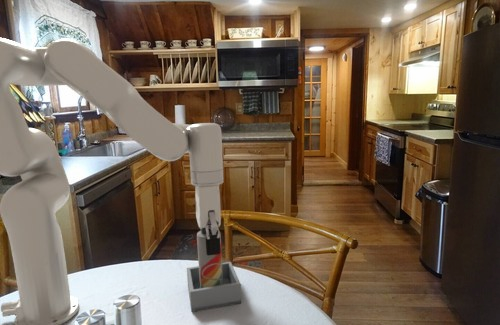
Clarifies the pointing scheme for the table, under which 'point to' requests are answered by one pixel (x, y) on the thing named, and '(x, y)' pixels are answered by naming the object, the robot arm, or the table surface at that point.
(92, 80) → the robot arm
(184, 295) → the table surface
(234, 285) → the box
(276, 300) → the table surface
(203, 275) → the lotion bottle
